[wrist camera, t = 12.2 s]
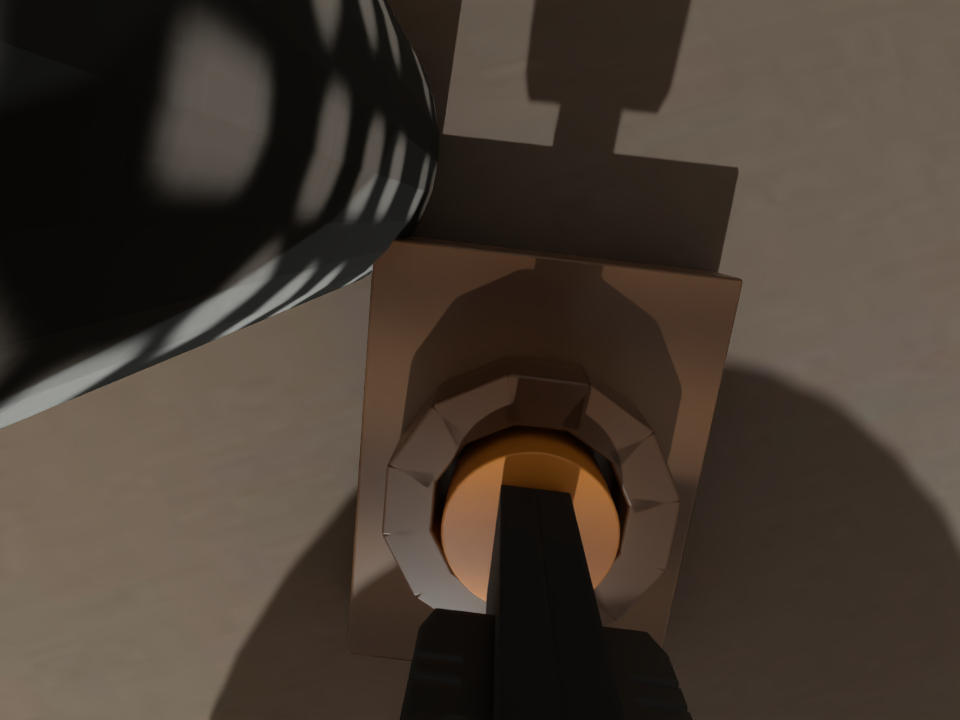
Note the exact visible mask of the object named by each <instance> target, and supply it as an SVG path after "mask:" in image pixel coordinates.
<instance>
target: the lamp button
mask: <svg viewBox="0 0 960 720" xmlns="http://www.w3.org/2000/svg"><path fill="white" fill-rule="evenodd" d="M501 484H502V485H510V486H518V487H526V488H535V489H543V490H551V491H559V492H568V493H570V495H571V499H572V503H573V507H574V511H575V515H576V519H577V523H578V527H579V531H580V536H581V540H582V544H583V548H584V552H585V556H586V560H587V564H588V568H589V572H590V577H591V581H592V585H593V589H595V588H596V587H597V586H598V585H599V584H600V583H601V581H602V580H603V579H604V578H605V576H606V575H607V573H608V572H609V570H610V568H611V567H612V565H613V562H614V560H615V557H616V555H617V551H618V547H619V540H620V523H619V517H618V513H617V510H616V507H615V504H614V501H613V499H612V496H611V493H610V491H609V488H608V486H607V483H606V480H605V478H604V475H603V473H602V470H601V469H600V467H599V465H598V463H597V461H596V460H595V458H594V457H593V456H592V454H591V453H590V452H589V451H588V450H587V449H586V448H585V447H584V446H583V445H582V444H580V443H579V442H578V441H577V440H575V439H573V438H572V437H570V436H569V435H567V434H564V433H562V432H560V431H557V430H554V429H547V428H539V427H530V426H522V425H521V426H513V427H508V428H506V429H503V430H501V431H498V432H496V433H493V434H491V435H488V436H486V437H483V438H482V439H480V440H479V441H477V442H476V443H475V444H474V445H472V446H471V447H470V448H469V449H468V450H467V451H466V452H465V453H464V455H463V456H462V457H461V459H460V460H459V462H458V463H457V465H456V467H455V469H454V471H453V473H452V476H451V479H450V483H449V488H448V492H447V497H446V502H445V507H444V511H443V516H442V522H441V540H442V546H443V550H444V554H445V557H446V559H447V562H448V564H449V566H450V568H451V569H452V571H453V573H454V574H455V576H456V577H457V578H458V579H459V581H460V582H461V583H462V584H463V585H464V586H465V587H466V588H467V589H468V590H469V591H470V592H472V593H473V594H474V595H476V596H477V597H478V598H480V599H482V600H483V601H485V602H486V599H487V588H488V581H489V573H490V566H491V558H492V550H493V543H494V535H495V527H496V520H497V512H498V504H499V497H500V489H501Z"/></svg>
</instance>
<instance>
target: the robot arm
mask: <svg viewBox="0 0 960 720" xmlns="http://www.w3.org/2000/svg"><path fill="white" fill-rule="evenodd" d="M400 720H692V717H691V715H690V713H689V712H688V711H687V704H686V701H685V699H684V696H683V693H682V691H681V689H679V683H678V680H677V678H676V675H675V672H674V670H673V667H672V664H671V662H670V659H669V656H668V655H667V654H666V653H665V652H664V651H663V649H662V648H661V647H660V646H659V645H658V644H657V642H656V641H655V640H654V639H653V638H652V637H651V636H650V634H649V633H648V632H644V631H636V630H628V629H620V628H612V627H604V626H602V622H601V618H600V614H599V609H598V605H597V601H596V597H595V593H594V589H593V585H592V581H591V577H590V572H589V568H588V564H587V560H586V556H585V552H584V548H583V544H582V540H581V536H580V531H579V527H578V523H577V519H576V515H575V511H574V507H573V503H572V499H571V495H570V493H568V492H559V491H551V490H543V489H535V488H526V487H518V486H510V485H502V484H501V489H500V497H499V504H498V512H497V520H496V527H495V535H494V543H493V550H492V558H491V566H490V573H489V581H488V588H487V599H486V614H482V613H474V612H466V611H458V610H449V609H441V608H435V609H434V611H433V612H432V613H431V614H430V615H429V616H428V618H427V619H426V620H425V621H424V622H423V623H422V624H421V626H420V627H419V630H418V635H417V639H416V644H415V649H414V655H413V658H412V663H411V668H410V673H409V679H408V682H407V687H406V692H405V697H404V701H403V706H402V711H401V716H400Z"/></svg>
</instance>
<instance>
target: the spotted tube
mask: <svg viewBox="0 0 960 720" xmlns="http://www.w3.org/2000/svg"><path fill="white" fill-rule="evenodd" d="M438 153H439V128H438V122H437V115H436V109H435V103H434V98H433V95H432V92H431V89H430V87H429V84H428V81H427V78H426V75H425V73H424V70H423V67H422V65H421V63H420V62H419V60H418V58H417V56H416V54H415V52H414V51H413V49H412V47H411V45H410V43H409V41H408V40H407V38H406V36H405V34H404V32H403V30H402V29H401V27H400V25H399V23H398V21H397V19H396V18H395V16H394V14H393V12H392V10H391V8H390V7H389V5H388V3H387V1H386V0H0V429H1V428H3V427H6V426H8V425H11V424H13V423H15V422H18V421H20V420H23V419H25V418H28V417H30V416H32V415H35V414H37V413H40V412H42V411H44V410H47V409H49V408H52V407H54V406H56V405H59V404H61V403H64V402H66V401H69V400H71V399H73V398H76V397H78V396H81V395H83V394H85V393H88V392H90V391H93V390H95V389H97V388H100V387H102V386H105V385H107V384H110V383H112V382H114V381H117V380H119V379H122V378H124V377H126V376H129V375H131V374H134V373H136V372H138V371H141V370H143V369H146V368H148V367H151V366H153V365H155V364H158V363H160V362H163V361H165V360H167V359H170V358H172V357H175V356H177V355H179V354H182V353H184V352H187V351H189V350H192V349H194V348H196V347H199V346H201V345H204V344H206V343H208V342H211V341H213V340H216V339H218V338H220V337H223V336H225V335H228V334H230V333H233V332H235V331H237V330H240V329H242V328H245V327H247V326H249V325H252V324H254V323H257V322H259V321H261V320H264V319H266V318H269V317H271V316H274V315H276V314H278V313H281V312H283V311H286V310H288V309H290V308H293V307H295V306H298V305H300V304H302V303H305V302H307V301H310V300H312V299H315V298H317V297H319V296H322V295H324V294H327V293H329V292H331V291H334V290H336V289H339V288H341V287H343V286H346V285H348V284H351V283H353V282H356V281H358V280H360V279H362V278H363V277H365V276H366V275H368V274H370V273H371V272H372V267H373V263H374V262H375V261H376V260H377V259H378V258H379V257H380V256H381V255H382V254H383V253H384V252H385V251H386V250H387V249H388V248H389V247H390V245H391V244H392V242H393V241H394V240H395V239H396V238H402V237H407V236H410V235H411V233H412V232H413V231H414V229H415V228H416V226H417V225H418V223H419V222H420V220H421V217H422V215H423V213H424V210H425V208H426V206H427V203H428V201H429V199H430V196H431V194H432V190H433V185H434V181H435V176H436V171H437V166H438Z"/></svg>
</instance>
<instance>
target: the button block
mask: <svg viewBox="0 0 960 720" xmlns="http://www.w3.org/2000/svg"><path fill="white" fill-rule="evenodd" d="M741 287H742V280H741V279H740V278H736V277H732V276H728V275H724V274H720V273H716V272H712V271H704V270H696V269H687V268H679V267H670V266H661V265H653V264H644V263H635V262H627V261H618V260H610V259H601V258H592V257H584V256H575V255H566V254H558V253H549V252H541V251H532V250H523V249H515V248H506V247H498V246H489V245H480V244H472V243H463V242H454V241H446V240H437V239H429V238H420V237H411V236H407V237H402V238H396V239H395V240H394V241H393V242H392V244H391V245H390V247H389V248H388V249H387V250H386V251H385V252H384V253H383V254H382V255H381V256H380V257H379V258H378V259H377V260H376V261H375V262H374V263H373V267H372V282H371V297H370V311H369V326H368V341H367V356H366V371H365V386H364V401H363V416H362V431H361V445H360V460H359V475H358V490H357V505H356V520H355V535H354V550H353V565H352V579H351V594H350V609H349V624H348V639H347V652H348V653H352V654H360V655H368V656H376V657H383V658H391V659H399V660H407V661H412V658H413V655H414V649H415V644H416V639H417V635H418V630H419V627H420V626H421V624H422V623H423V622H424V621H425V620H426V619H427V618H428V616H429V615H430V614H431V613H432V612H433V611H434V609H435V608H441V609H449V610H458V611H466V612H474V613H482V614H486V602H485V601H483V600H482V599H480V598H478V597H477V596H476V595H474V594H473V593H472V592H470V591H469V590H468V589H467V588H466V587H465V586H464V585H463V584H462V583H461V582H460V581H459V579H458V578H457V577H456V576H455V574H454V573H453V571H452V569H451V568H450V566H449V564H448V562H447V559H446V557H445V554H444V550H443V546H442V540H441V522H442V516H443V511H444V507H445V502H446V497H447V492H448V488H449V483H450V479H451V476H452V473H453V471H454V469H455V467H456V465H457V463H458V462H459V460H460V459H461V457H462V456H463V455H464V453H465V452H466V451H467V450H468V449H469V448H470V447H471V446H472V445H474V444H475V443H476V442H477V441H479V440H480V439H482V438H483V437H486V436H488V435H491V434H493V433H496V432H498V431H501V430H503V429H506V428H508V427H513V426H521V425H522V426H530V427H539V428H547V429H554V430H557V431H560V432H562V433H564V434H567V435H569V436H570V437H572V438H573V439H575V440H577V441H578V442H579V443H580V444H582V445H583V446H584V447H585V448H586V449H587V450H588V451H589V452H590V453H591V454H592V456H593V457H594V458H595V460H596V461H597V463H598V465H599V467H600V469H601V470H602V473H603V475H604V478H605V480H606V483H607V486H608V488H609V491H610V493H611V496H612V499H613V501H614V504H615V507H616V510H617V513H618V517H619V523H620V540H619V547H618V551H617V555H616V557H615V560H614V562H613V565H612V567H611V568H610V570H609V572H608V573H607V575H606V576H605V578H604V579H603V580H602V581H601V583H600V584H599V585H598V586H597V587H596V588H595V589H594V593H595V597H596V601H597V605H598V609H599V614H600V618H601V622H602V626H604V627H612V628H620V629H628V630H636V631H644V632H648V633H649V634H650V636H651V637H652V638H653V639H654V640H655V641H656V642H657V644H658V645H659V646H660V647H661V648H662V647H663V643H664V638H665V634H666V629H667V625H668V620H669V616H670V611H671V606H672V602H673V597H674V593H675V588H676V584H677V579H678V574H679V570H680V565H681V561H682V556H683V552H684V547H685V542H686V538H687V533H688V529H689V524H690V520H691V515H692V511H693V506H694V501H695V497H696V492H697V488H698V483H699V479H700V474H701V469H702V465H703V460H704V456H705V451H706V447H707V442H708V438H709V433H710V428H711V424H712V419H713V415H714V410H715V406H716V401H717V396H718V392H719V387H720V383H721V378H722V374H723V369H724V365H725V360H726V355H727V351H728V346H729V342H730V337H731V333H732V328H733V323H734V319H735V314H736V310H737V305H738V301H739V296H740V292H741Z"/></svg>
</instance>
